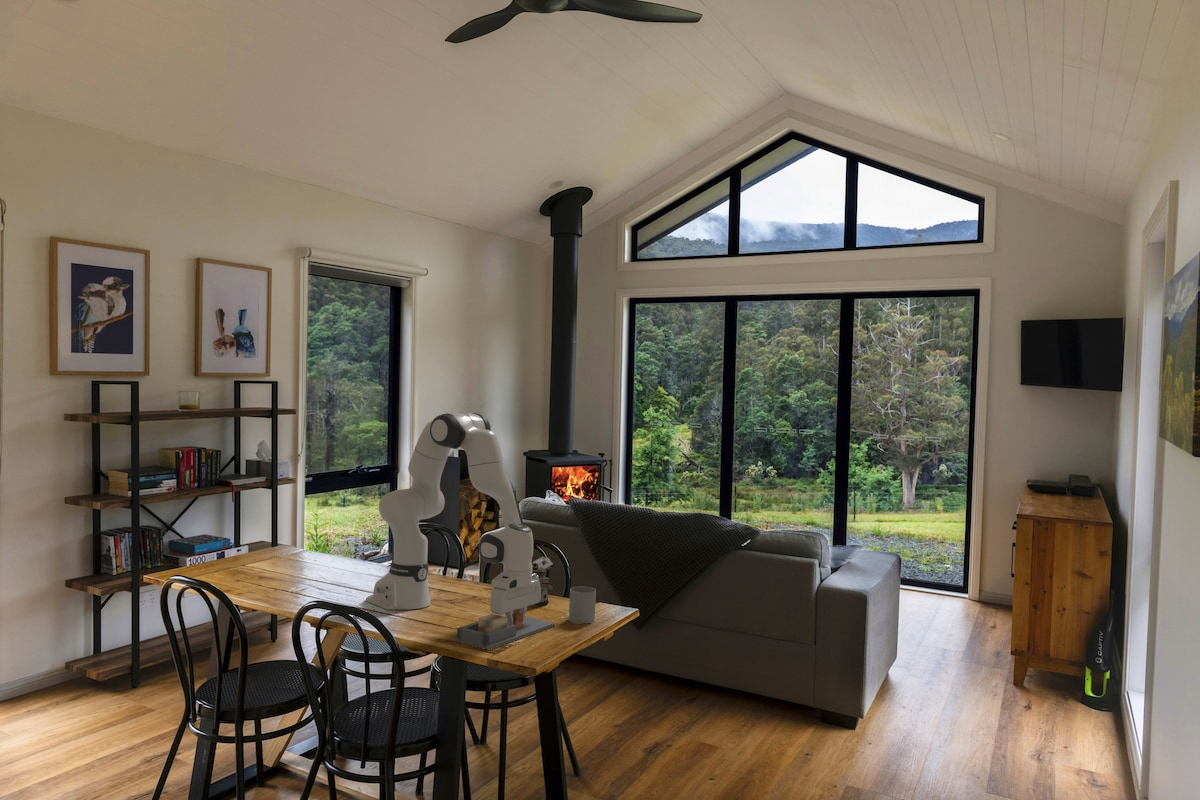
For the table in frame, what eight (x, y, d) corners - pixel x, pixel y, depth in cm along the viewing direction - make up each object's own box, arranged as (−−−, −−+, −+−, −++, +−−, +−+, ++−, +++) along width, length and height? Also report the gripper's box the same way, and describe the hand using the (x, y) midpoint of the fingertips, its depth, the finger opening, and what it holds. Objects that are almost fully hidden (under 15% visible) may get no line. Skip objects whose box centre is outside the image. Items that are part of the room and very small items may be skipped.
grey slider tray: (454, 641, 237) (454, 627, 237) (521, 618, 263) (522, 606, 263) (488, 650, 230) (488, 636, 230) (554, 626, 256) (554, 613, 256)
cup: (600, 620, 264) (601, 590, 264) (582, 625, 258) (583, 594, 258) (580, 615, 270) (582, 585, 270) (563, 619, 264) (564, 588, 264)
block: (478, 634, 241) (478, 618, 240) (511, 623, 253) (511, 607, 253) (493, 639, 237) (494, 622, 237) (526, 627, 250) (526, 611, 249)
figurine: (558, 601, 286) (560, 558, 286) (538, 607, 277) (539, 563, 276) (538, 596, 291) (540, 554, 291) (517, 602, 282) (519, 559, 282)
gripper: (531, 570, 260) (529, 613, 260) (487, 581, 243) (485, 627, 243) (546, 573, 257) (544, 617, 257) (503, 585, 240) (501, 632, 240)
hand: (515, 622), depth 250 cm, fingers closed on block, 3 cm apart
